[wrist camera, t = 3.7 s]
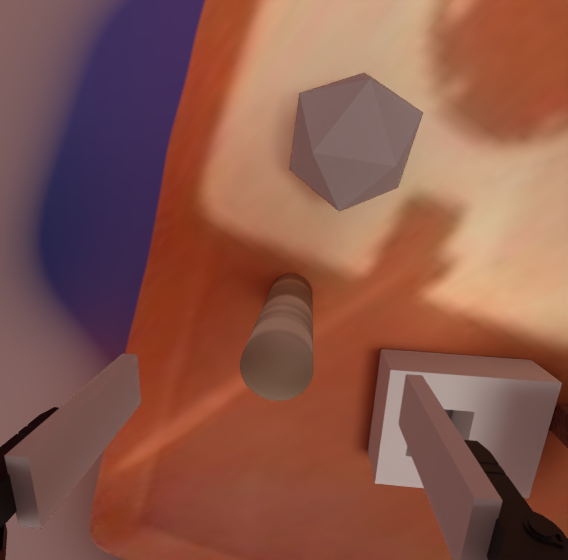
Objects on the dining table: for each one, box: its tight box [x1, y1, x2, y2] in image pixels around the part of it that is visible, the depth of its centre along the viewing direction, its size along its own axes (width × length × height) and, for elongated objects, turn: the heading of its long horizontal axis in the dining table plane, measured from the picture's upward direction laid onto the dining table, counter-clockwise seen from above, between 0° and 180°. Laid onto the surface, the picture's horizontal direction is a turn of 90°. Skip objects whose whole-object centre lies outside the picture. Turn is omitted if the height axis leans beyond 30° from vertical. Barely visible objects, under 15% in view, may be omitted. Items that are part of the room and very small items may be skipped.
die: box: [289, 73, 423, 211], centre depth 24 cm, size 8×9×10 cm
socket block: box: [368, 349, 562, 498], centre depth 31 cm, size 12×14×4 cm
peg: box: [240, 274, 313, 401], centre depth 25 cm, size 4×4×14 cm
